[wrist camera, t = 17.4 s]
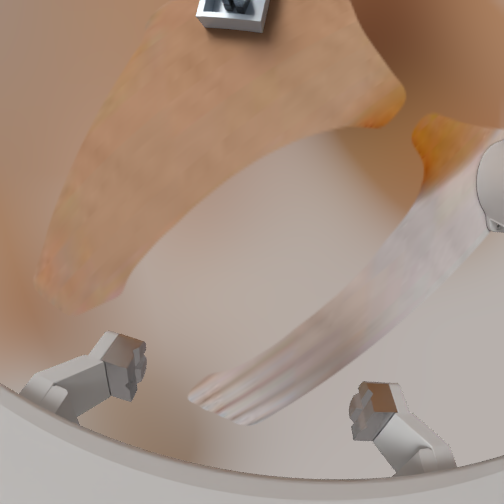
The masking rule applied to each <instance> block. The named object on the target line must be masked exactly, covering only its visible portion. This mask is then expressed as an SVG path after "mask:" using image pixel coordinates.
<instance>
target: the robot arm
mask: <svg viewBox="0 0 504 504" xmlns="http://www.w3.org/2000/svg"><path fill="white" fill-rule="evenodd" d="M477 193H478V198H479V201H480V204H481V206H482V208H483V210H484V212H485V214H486V222H487V227H488V229H489V230H490V231H493V232H504V140H502V141H500V142H497V143H495V144H493V145H492V146H490V147H489V148H488V149H487V151H486V152H485V154H484V155H483V157H482V159H481V162H480V165H479V168H478V173H477ZM497 224H498V225H497ZM145 351H146V343H145V342H144V341H141V340H138V339H135V338H132V337H128V336H125V335H122V334H118V333H116V332H113V331H109V330H108V331H106V332H105V333H104V335H103V336H102V337H101V339H100V340H99V341H98V343H97V344H96V345H95V347H94V348H93V349H92V351H91V352H90V353H89V355H88V356H87V355H83V356H80V357H77V358H75V359H73V360H70V361H67V362H65V363H62V364H59V365H57V366H54V367H51V368H49V369H46V370H43V371H41V372H38V373H35V374H34V376H33V377H32V378H31V379H30V381H29V382H28V383H27V384H26V386H25V387H24V388H23V389H22V391H21V392H20V393H19V394H18V393H16V392H14V391H13V390H11V389H9V388H8V387H6V386H5V385H3V384H1V383H0V504H504V455H503V456H500V457H497V458H493V459H490V460H486V461H482V462H478V463H474V464H470V465H466V466H462V467H457V466H456V463H455V460H454V457H453V454H452V451H451V449H450V446H449V444H447V443H446V442H445V441H444V440H443V439H442V438H441V437H439V436H438V435H437V434H436V433H435V432H434V431H433V430H432V429H430V428H429V427H428V426H427V425H426V424H424V422H422V421H421V420H420V419H419V418H418V417H417V416H416V415H414V414H413V413H410V412H409V410H408V407H407V404H406V401H405V398H404V395H403V393H402V390H401V387H400V385H399V384H398V383H379V382H365V381H364V382H362V383H361V384H360V386H359V388H358V389H359V393H358V394H356V395H354V397H353V398H352V400H351V403H350V407H349V416H350V419H351V420H352V421H353V422H354V424H353V426H352V427H351V428H352V434H353V440H360V441H373V443H374V444H375V445H376V447H377V448H378V449H379V451H380V452H381V453H382V455H383V456H384V457H385V458H386V460H387V461H388V462H389V464H390V465H391V466H392V467H393V469H394V470H395V471H396V472H397V473H396V474H395V475H393V476H392V477H387V478H373V479H346V480H345V479H344V480H343V479H342V480H341V479H340V480H337V479H303V478H288V477H277V476H267V475H258V474H251V473H244V472H238V471H231V470H226V469H220V468H215V467H210V466H205V465H201V464H196V463H192V462H187V461H183V460H179V459H176V458H172V457H168V456H164V455H160V454H157V453H154V452H151V451H147V450H144V449H141V448H138V447H135V446H132V445H129V444H126V443H123V442H121V441H118V440H115V439H112V438H110V437H107V436H104V435H102V434H99V433H97V432H94V431H92V430H90V429H87V428H85V427H83V426H80V424H79V422H78V419H77V417H78V416H80V415H81V414H83V413H84V412H86V411H88V410H89V409H91V408H93V407H94V406H96V405H98V404H99V403H101V402H103V401H104V400H106V399H107V398H109V397H110V395H111V396H114V397H117V398H120V399H123V400H126V401H130V402H131V401H132V399H133V397H134V395H135V393H136V391H137V383H139V382H141V381H142V379H143V377H144V374H145V370H146V363H147V360H146V357H145V356H144V353H145Z"/></svg>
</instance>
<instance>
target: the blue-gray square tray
mask: <svg viewBox="0 0 504 504" xmlns="http://www.w3.org/2000/svg"><path fill="white" fill-rule="evenodd" d="M269 2H270V0H250V3H249V5H248V7H247V10H246V12H245V14H242V13H237V10H236V8H234V10H233V12H232V11H227V10H225V8H224V6H223V2H222V0H200V2H199V6H198V10H197V14H196V17H197V18H198V19H199V21H200V22H201V23H202V24H203V26H204V27H207V28H222V29H233V30H243V31H251V32H259V33H263V30H264V25H265V20H266V16H267V11H268V6H269Z"/></svg>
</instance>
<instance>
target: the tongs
mask: <svg viewBox="0 0 504 504" xmlns="http://www.w3.org/2000/svg"><path fill="white" fill-rule="evenodd" d="M222 2H223V6H224V8H225V10H227V11H232V12H233V10H234V8H236V10H237V13H242V14H245V12H246V10H247V7H248V5H249V3H250V0H222Z"/></svg>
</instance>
